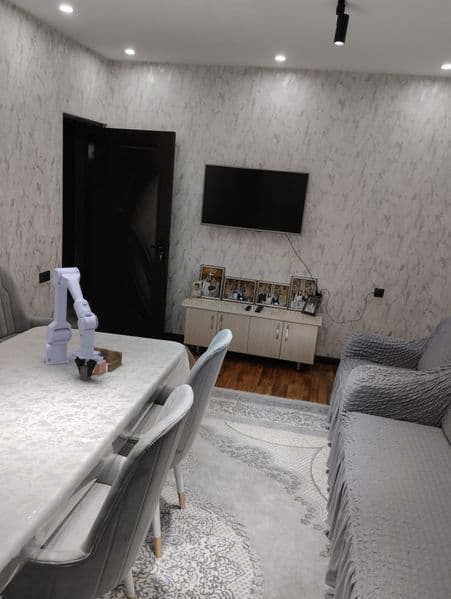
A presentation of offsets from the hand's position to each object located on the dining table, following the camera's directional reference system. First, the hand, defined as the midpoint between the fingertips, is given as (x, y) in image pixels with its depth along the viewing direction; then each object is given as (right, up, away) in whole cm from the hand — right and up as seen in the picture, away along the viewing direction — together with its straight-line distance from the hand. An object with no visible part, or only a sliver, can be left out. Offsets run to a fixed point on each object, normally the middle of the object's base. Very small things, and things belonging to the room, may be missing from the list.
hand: (85, 375), depth 192 cm
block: (-3, +3, +19) cm, 19 cm away
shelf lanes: (+1, +2, +17) cm, 17 cm away
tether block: (+1, -1, +5) cm, 5 cm away
